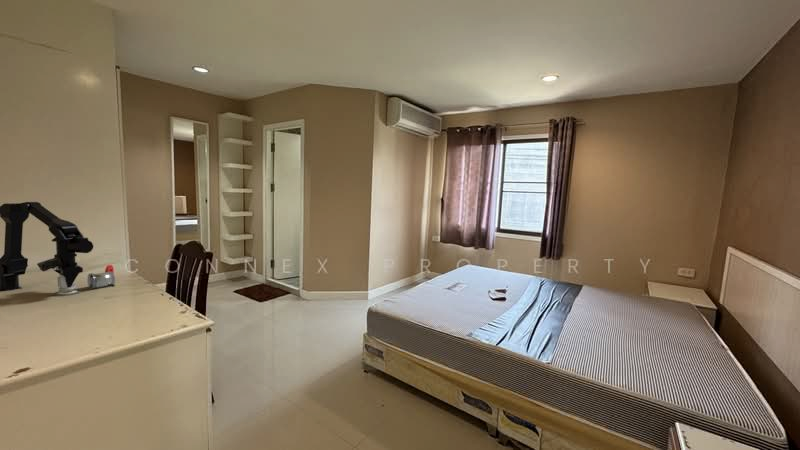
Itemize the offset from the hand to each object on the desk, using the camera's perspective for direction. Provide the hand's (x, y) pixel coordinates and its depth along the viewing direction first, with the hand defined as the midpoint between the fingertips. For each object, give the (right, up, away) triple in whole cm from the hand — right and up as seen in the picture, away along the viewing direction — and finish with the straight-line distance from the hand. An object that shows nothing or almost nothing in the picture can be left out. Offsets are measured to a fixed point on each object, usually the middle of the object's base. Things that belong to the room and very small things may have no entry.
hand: (67, 286), depth 143 cm
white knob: (0, -2, 0) cm, 2 cm away
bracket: (-2, -2, +20) cm, 20 cm away
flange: (0, -3, 0) cm, 3 cm away
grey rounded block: (+6, -3, +11) cm, 12 cm away
